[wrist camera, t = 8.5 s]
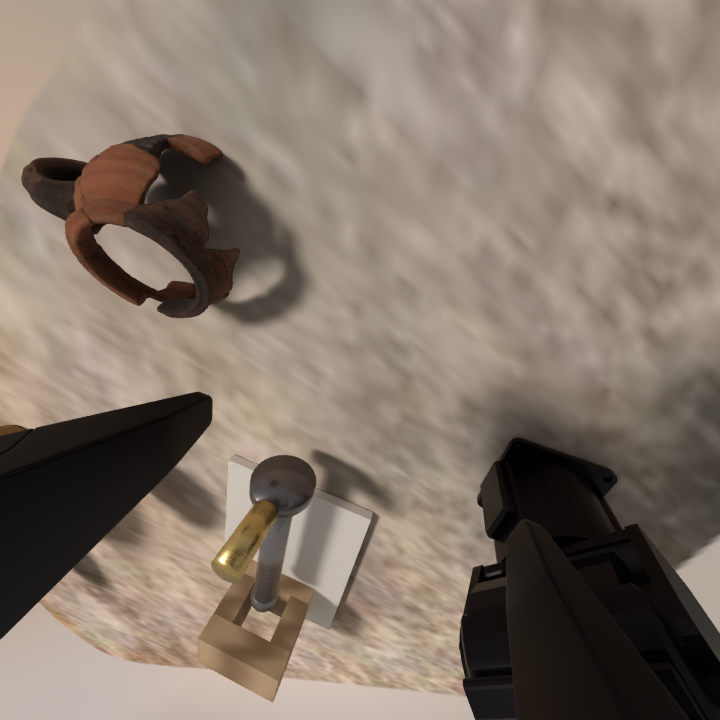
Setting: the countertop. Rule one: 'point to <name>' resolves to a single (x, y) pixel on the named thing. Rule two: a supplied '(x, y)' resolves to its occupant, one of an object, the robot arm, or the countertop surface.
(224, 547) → the hook rod
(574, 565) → the robot arm
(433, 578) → the countertop surface
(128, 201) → the brown curved loop
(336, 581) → the mounting board
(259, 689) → the block
